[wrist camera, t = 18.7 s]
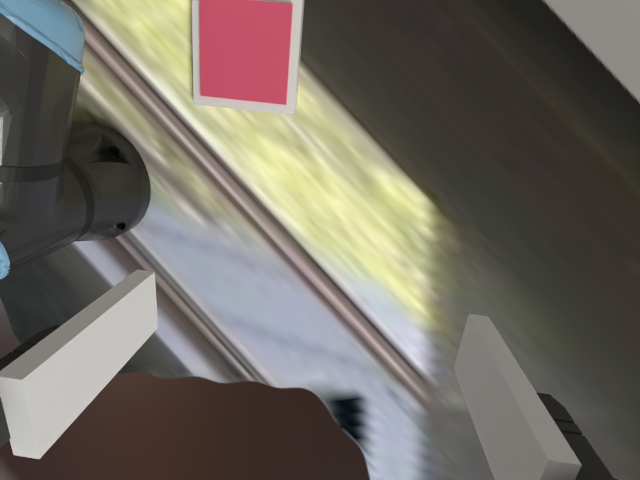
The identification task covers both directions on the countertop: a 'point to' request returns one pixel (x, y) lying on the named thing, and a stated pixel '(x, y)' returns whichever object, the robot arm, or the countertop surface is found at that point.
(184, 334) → the countertop surface
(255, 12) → the ink pad
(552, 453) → the robot arm
